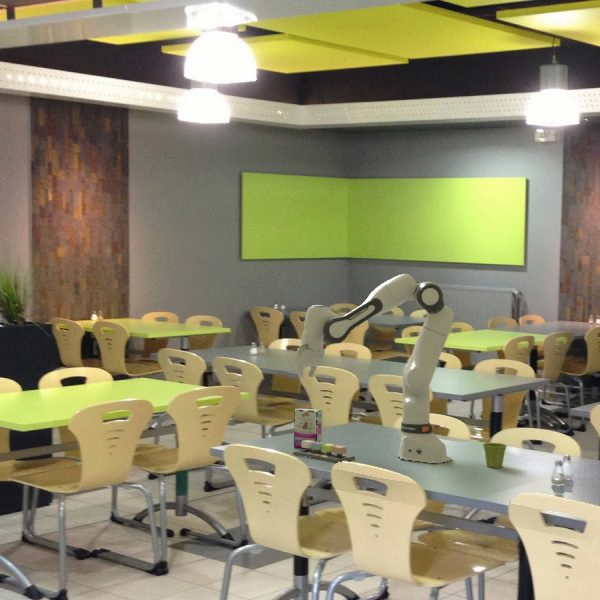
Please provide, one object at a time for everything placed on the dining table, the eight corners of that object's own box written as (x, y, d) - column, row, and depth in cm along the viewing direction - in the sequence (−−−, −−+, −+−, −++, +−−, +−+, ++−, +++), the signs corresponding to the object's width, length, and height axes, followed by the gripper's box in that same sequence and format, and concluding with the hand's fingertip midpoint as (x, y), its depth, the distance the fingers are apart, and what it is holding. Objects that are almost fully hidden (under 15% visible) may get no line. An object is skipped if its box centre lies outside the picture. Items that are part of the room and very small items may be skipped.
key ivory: (315, 449, 458) (315, 441, 458) (308, 450, 455) (308, 442, 455) (307, 448, 460) (307, 439, 460) (301, 449, 457) (301, 441, 457)
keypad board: (354, 459, 449) (354, 455, 449) (337, 462, 441) (337, 459, 440) (310, 451, 464) (310, 447, 464) (292, 454, 456) (293, 450, 456)
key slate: (325, 451, 454) (325, 443, 454) (319, 452, 451) (319, 444, 451) (317, 450, 457) (318, 441, 457) (311, 451, 454) (311, 442, 454)
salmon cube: (346, 455, 447) (346, 446, 447) (340, 456, 444) (340, 447, 444) (338, 453, 450) (339, 445, 449) (332, 455, 447) (332, 446, 446)
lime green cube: (335, 453, 451) (336, 444, 450) (329, 454, 448) (329, 446, 447) (328, 452, 453) (328, 443, 453) (321, 453, 450) (322, 444, 450)
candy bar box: (322, 448, 471) (322, 409, 470) (316, 450, 466) (317, 411, 465) (298, 445, 476) (299, 407, 475) (293, 447, 471) (293, 408, 470)
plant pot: (477, 464, 442) (478, 443, 442) (498, 463, 446) (499, 442, 445) (489, 469, 434) (490, 447, 433) (510, 468, 437) (511, 446, 436)
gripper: (307, 345, 444) (301, 379, 445) (328, 344, 462) (323, 377, 463) (293, 342, 447) (287, 376, 447) (315, 341, 465) (309, 374, 466)
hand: (305, 377), depth 455 cm, fingers open, 8 cm apart
